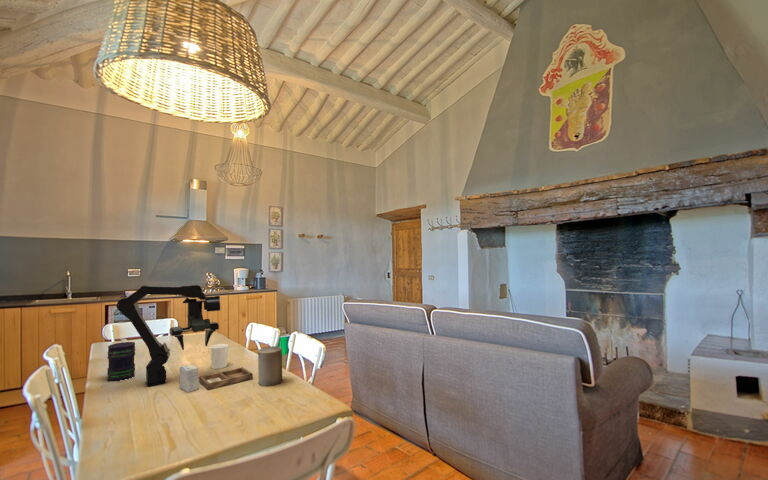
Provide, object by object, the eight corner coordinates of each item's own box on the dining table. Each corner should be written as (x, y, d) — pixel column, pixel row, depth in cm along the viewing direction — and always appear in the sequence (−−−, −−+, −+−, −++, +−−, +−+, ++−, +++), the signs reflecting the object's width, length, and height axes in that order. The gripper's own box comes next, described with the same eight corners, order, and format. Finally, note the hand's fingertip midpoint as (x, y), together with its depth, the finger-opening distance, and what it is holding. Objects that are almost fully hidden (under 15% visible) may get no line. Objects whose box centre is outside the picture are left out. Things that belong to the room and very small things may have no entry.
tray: (207, 390, 140) (207, 384, 140) (199, 382, 149) (199, 376, 149) (252, 379, 152) (252, 373, 152) (242, 372, 161) (242, 367, 161)
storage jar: (111, 384, 149) (111, 348, 150) (104, 379, 155) (104, 345, 156) (138, 377, 157) (138, 343, 158) (130, 373, 163) (130, 340, 164)
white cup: (223, 369, 166) (223, 348, 167) (207, 369, 166) (207, 348, 167) (231, 364, 174) (231, 343, 174) (215, 364, 174) (215, 344, 175)
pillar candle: (285, 378, 152) (285, 343, 153) (276, 386, 142) (276, 349, 143) (264, 378, 153) (264, 343, 154) (253, 386, 143) (253, 349, 144)
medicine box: (198, 389, 141) (198, 367, 141) (186, 393, 138) (187, 370, 138) (190, 385, 146) (191, 364, 146) (179, 388, 143) (179, 366, 143)
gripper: (174, 317, 144) (174, 356, 143) (222, 312, 156) (222, 347, 155) (169, 314, 152) (169, 350, 151) (215, 309, 165) (215, 343, 164)
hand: (194, 348), depth 155 cm, fingers open, 9 cm apart
